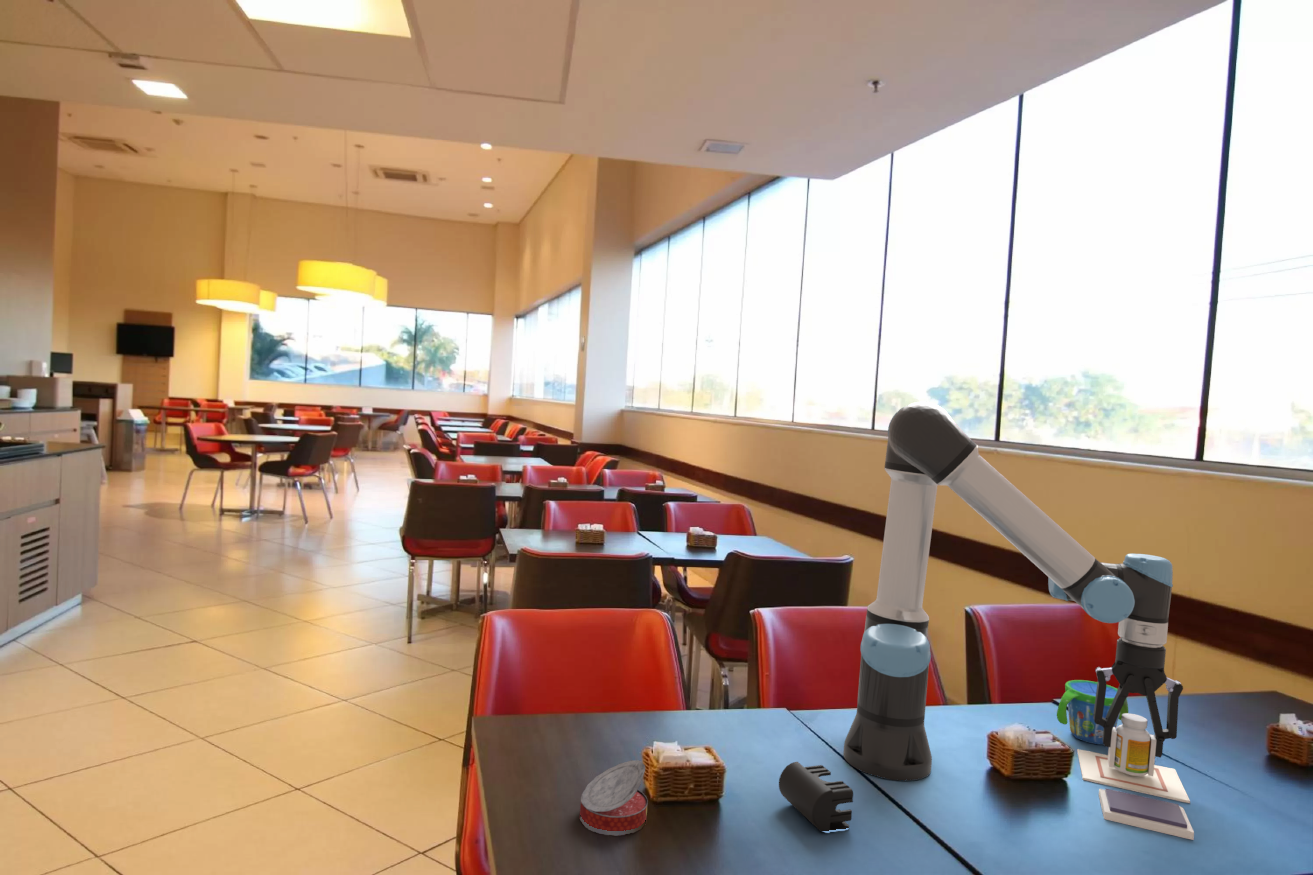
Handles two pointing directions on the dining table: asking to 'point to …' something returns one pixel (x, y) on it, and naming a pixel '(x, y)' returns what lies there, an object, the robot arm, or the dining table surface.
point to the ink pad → (1145, 813)
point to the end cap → (816, 796)
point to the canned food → (615, 798)
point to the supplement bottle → (1132, 745)
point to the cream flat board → (1132, 777)
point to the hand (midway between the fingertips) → (1129, 768)
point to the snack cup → (1085, 709)
